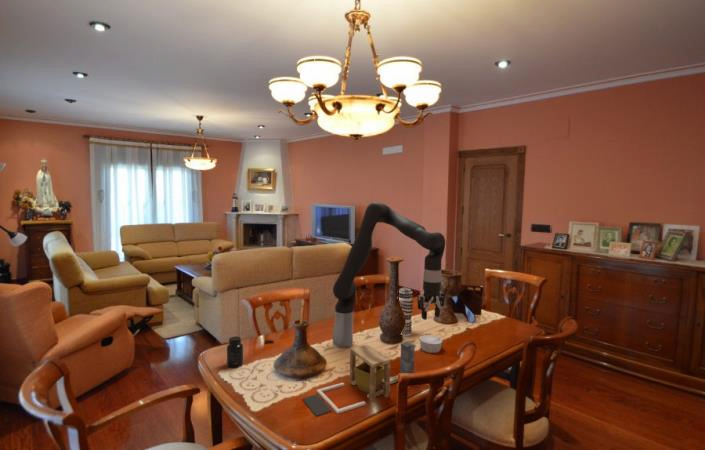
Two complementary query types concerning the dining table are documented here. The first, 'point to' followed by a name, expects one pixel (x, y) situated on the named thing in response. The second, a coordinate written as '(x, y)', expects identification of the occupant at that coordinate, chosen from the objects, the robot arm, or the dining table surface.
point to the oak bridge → (371, 367)
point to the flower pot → (367, 376)
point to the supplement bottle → (235, 352)
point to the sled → (401, 364)
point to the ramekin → (430, 343)
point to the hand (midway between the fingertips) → (430, 317)
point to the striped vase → (406, 308)
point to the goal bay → (320, 392)
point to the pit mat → (316, 405)
